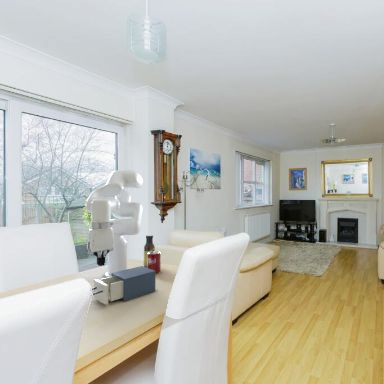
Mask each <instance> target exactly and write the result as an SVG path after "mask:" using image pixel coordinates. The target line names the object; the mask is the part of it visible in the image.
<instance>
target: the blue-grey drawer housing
mask: <svg viewBox="0 0 384 384" xmlns="http://www.w3.org/2000/svg"><path fill="white" fill-rule="evenodd" d="M111 276H115V277H117V278H119V279H122V280H124V297H123V298H120V299H119V300H122V301H123V302H126V301H129V300H132V299H135V298H139V297H141V296H144V295H147V294H151V293H154V292H156V275H155V271H154V270H151V269H149V268H146V267H144V265H140V266H135V267H132V268H127V270H123V271H118V272H114V273H111Z"/></svg>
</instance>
